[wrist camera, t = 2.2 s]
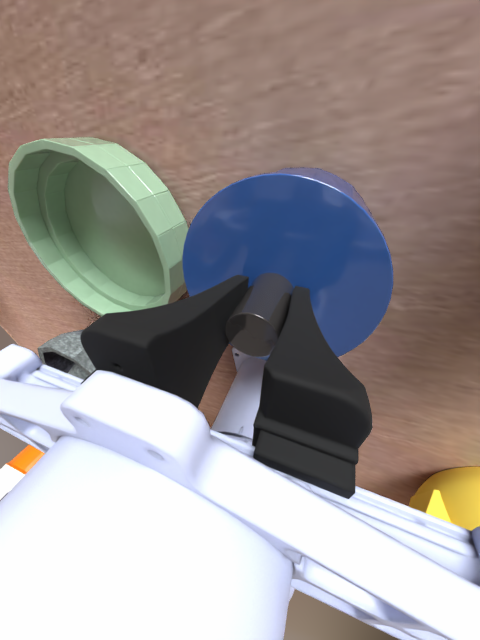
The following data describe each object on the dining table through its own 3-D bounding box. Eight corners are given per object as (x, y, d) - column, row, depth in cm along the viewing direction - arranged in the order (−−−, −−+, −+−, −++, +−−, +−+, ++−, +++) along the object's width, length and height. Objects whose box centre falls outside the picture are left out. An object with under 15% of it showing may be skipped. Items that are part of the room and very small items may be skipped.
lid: (398, 348, 13) (415, 427, 10) (234, 356, 18) (207, 408, 15) (376, 113, 8) (393, 102, 5) (159, 219, 13) (93, 250, 10)
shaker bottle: (77, 393, 54) (-23, 490, 40) (87, 385, 48) (-26, 495, 34) (108, 416, 56) (24, 516, 42) (122, 411, 51) (29, 524, 36)
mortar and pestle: (87, 297, 29) (-24, 369, 21) (150, 340, 30) (68, 427, 21) (85, 342, 37) (3, 408, 28) (136, 375, 38) (71, 450, 29)
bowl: (212, 307, 23) (191, 334, 20) (107, 299, 28) (79, 318, 25) (162, 118, 15) (115, 116, 12) (27, 155, 20) (-29, 160, 17)
